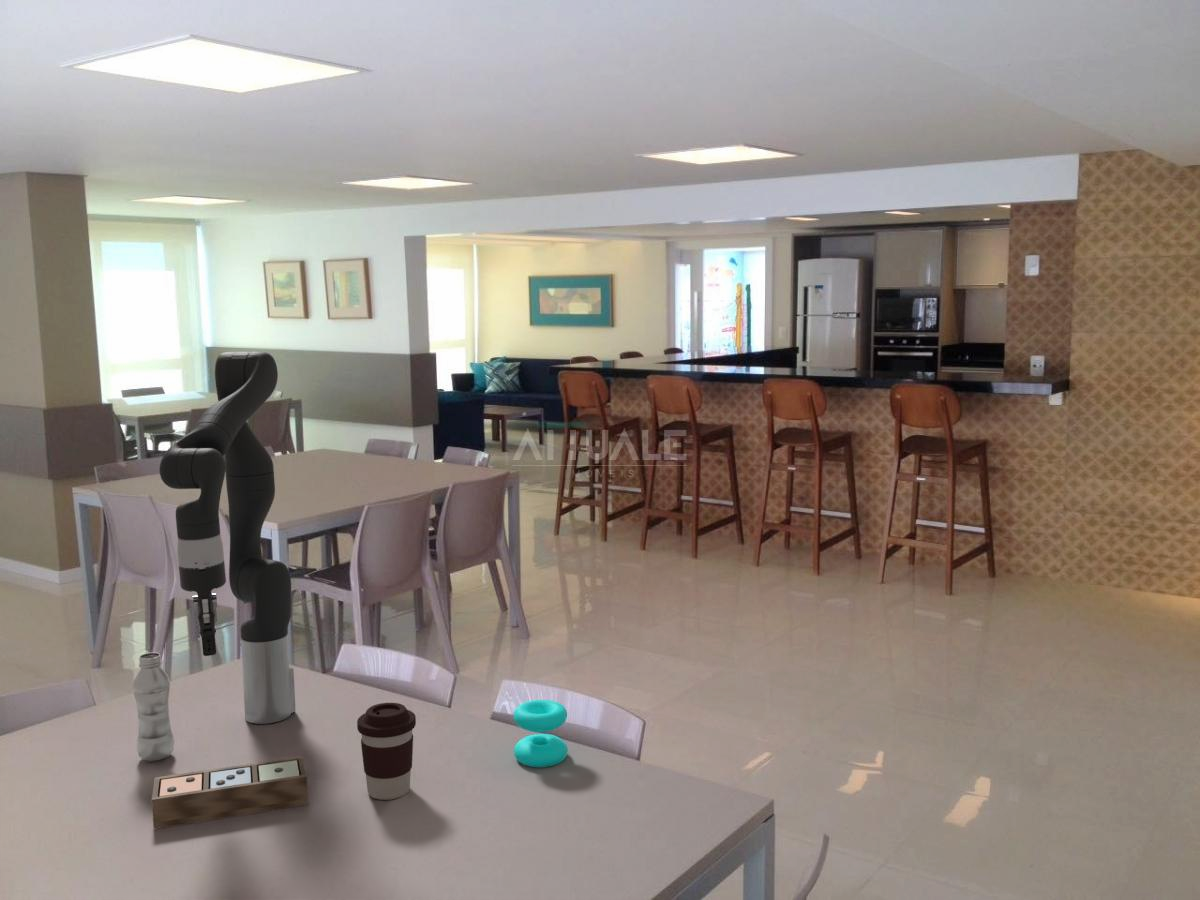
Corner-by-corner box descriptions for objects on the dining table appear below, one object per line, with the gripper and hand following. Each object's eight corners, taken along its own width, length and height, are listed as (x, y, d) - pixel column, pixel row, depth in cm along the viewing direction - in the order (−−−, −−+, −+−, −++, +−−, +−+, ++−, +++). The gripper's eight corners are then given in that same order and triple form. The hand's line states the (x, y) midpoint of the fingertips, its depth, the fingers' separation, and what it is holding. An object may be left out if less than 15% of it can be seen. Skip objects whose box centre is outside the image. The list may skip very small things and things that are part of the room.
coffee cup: (428, 785, 184) (426, 703, 182) (395, 809, 175) (392, 724, 173) (382, 774, 189) (380, 695, 186) (348, 798, 180) (344, 714, 178)
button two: (202, 790, 178) (201, 772, 178) (202, 807, 172) (201, 788, 172) (162, 796, 176) (161, 778, 176) (160, 813, 170) (159, 795, 170)
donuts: (575, 701, 197) (553, 721, 187) (575, 751, 198) (554, 773, 189) (527, 694, 200) (504, 713, 191) (528, 744, 202) (504, 764, 192)
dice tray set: (303, 783, 185) (302, 756, 185) (307, 804, 177) (306, 776, 177) (156, 805, 177) (154, 777, 177) (153, 828, 169) (151, 799, 169)
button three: (250, 783, 181) (249, 765, 181) (251, 799, 175) (251, 781, 175) (211, 789, 179) (210, 771, 178) (211, 805, 173) (210, 787, 173)
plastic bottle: (181, 751, 199) (175, 650, 196) (163, 766, 192) (156, 662, 190) (149, 749, 200) (143, 649, 197) (130, 765, 193) (123, 661, 190)
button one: (297, 776, 184) (296, 759, 183) (300, 792, 178) (299, 774, 177) (259, 782, 182) (258, 764, 181) (260, 798, 176) (259, 780, 175)
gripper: (178, 553, 188) (187, 645, 191) (178, 572, 176) (187, 670, 179) (222, 549, 191) (230, 639, 193) (225, 567, 178) (233, 663, 181)
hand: (209, 654), depth 186 cm, fingers closed
